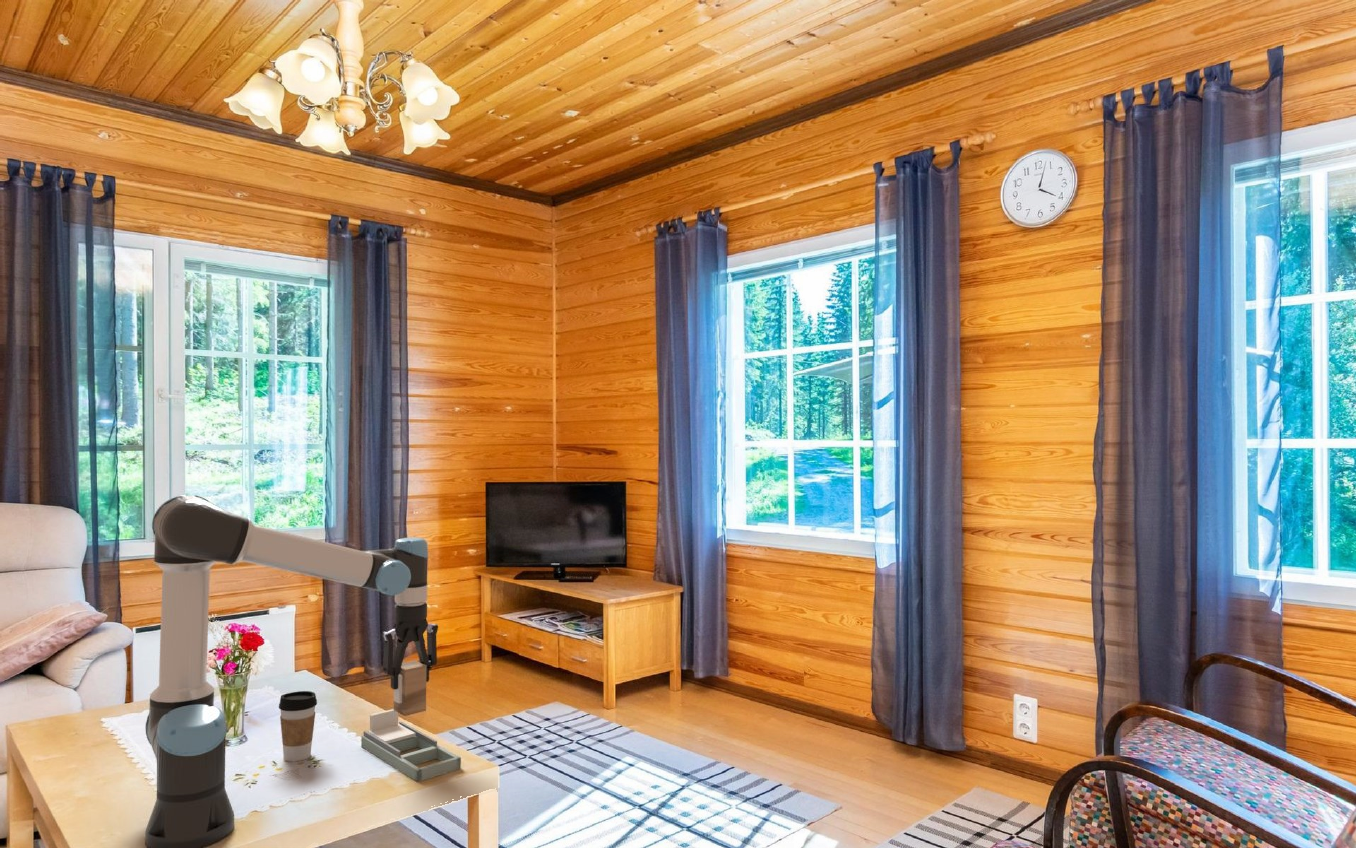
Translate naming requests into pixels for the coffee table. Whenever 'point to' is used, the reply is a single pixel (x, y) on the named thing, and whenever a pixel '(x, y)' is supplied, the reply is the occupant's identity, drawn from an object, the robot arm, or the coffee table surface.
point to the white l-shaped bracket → (388, 727)
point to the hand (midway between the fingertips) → (409, 698)
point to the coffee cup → (297, 724)
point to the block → (412, 688)
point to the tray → (413, 754)
